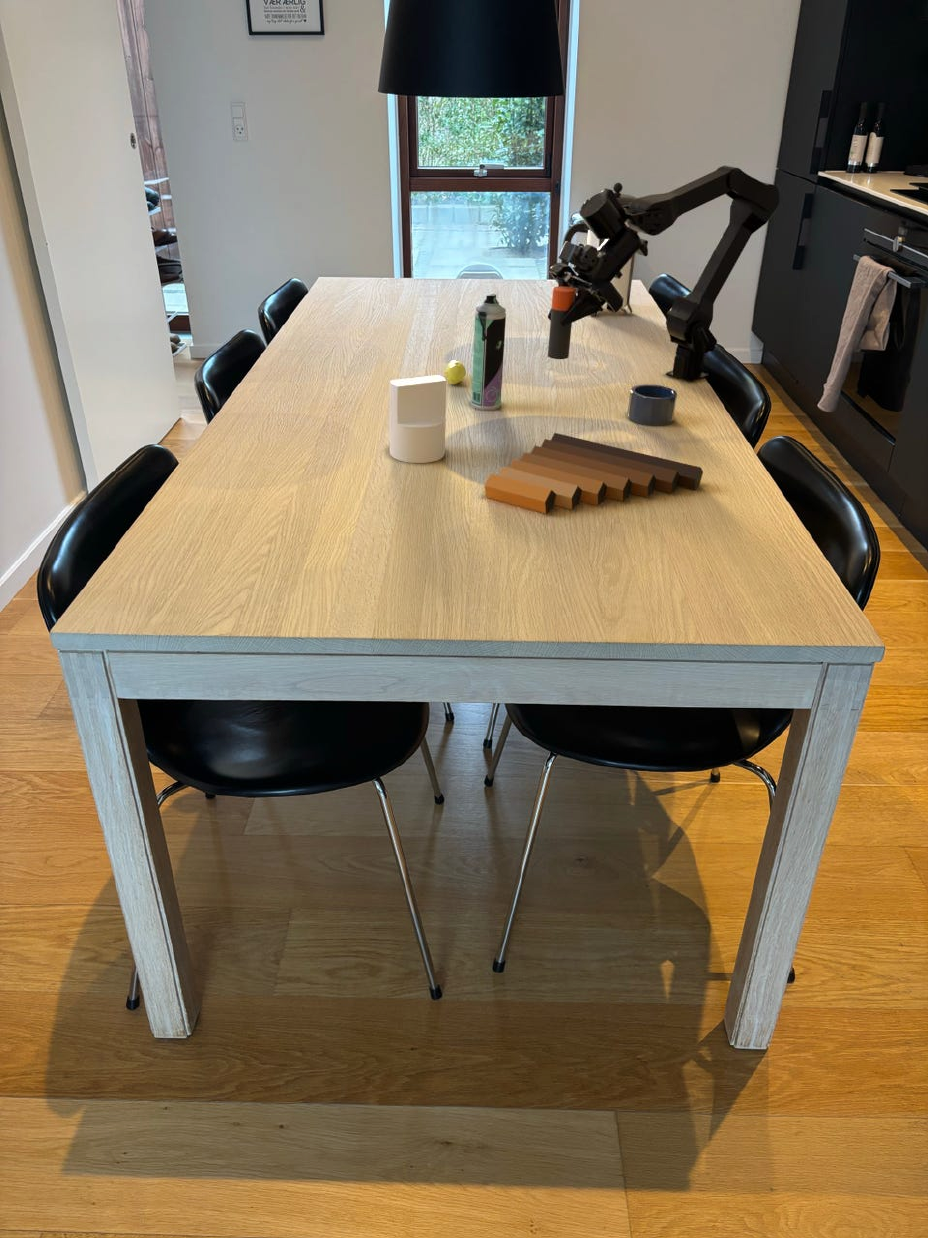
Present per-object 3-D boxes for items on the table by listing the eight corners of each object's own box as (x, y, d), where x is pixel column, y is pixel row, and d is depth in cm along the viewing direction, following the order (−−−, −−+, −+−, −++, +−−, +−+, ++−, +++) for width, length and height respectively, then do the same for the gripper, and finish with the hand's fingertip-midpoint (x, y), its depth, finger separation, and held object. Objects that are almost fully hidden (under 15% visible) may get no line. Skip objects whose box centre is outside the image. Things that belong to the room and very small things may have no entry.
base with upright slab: (403, 466, 152) (403, 392, 146) (380, 446, 159) (380, 375, 153) (454, 458, 156) (456, 385, 150) (429, 439, 163) (431, 369, 157)
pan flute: (700, 484, 151) (557, 448, 162) (704, 463, 149) (559, 429, 160) (641, 542, 132) (483, 498, 143) (644, 520, 131) (484, 477, 141)
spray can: (497, 411, 176) (504, 299, 166) (468, 408, 177) (473, 296, 167) (502, 402, 181) (509, 292, 171) (474, 399, 182) (479, 289, 172)
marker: (556, 351, 187) (562, 285, 180) (573, 356, 184) (579, 289, 178) (542, 355, 184) (548, 288, 178) (559, 360, 182) (565, 292, 175)
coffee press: (589, 300, 255) (602, 176, 240) (643, 310, 247) (660, 183, 232) (555, 311, 243) (566, 181, 227) (611, 323, 235) (626, 189, 220)
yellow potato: (441, 386, 188) (442, 366, 186) (447, 374, 195) (448, 354, 193) (462, 387, 187) (463, 368, 185) (468, 375, 194) (469, 356, 192)
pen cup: (644, 407, 182) (648, 381, 179) (681, 419, 177) (685, 392, 174) (618, 416, 177) (621, 390, 174) (655, 429, 172) (659, 401, 169)
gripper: (562, 216, 181) (506, 281, 182) (617, 234, 166) (556, 304, 168) (593, 258, 188) (539, 320, 189) (648, 279, 174) (590, 345, 175)
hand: (554, 321), depth 180 cm, fingers closed on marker, 4 cm apart
